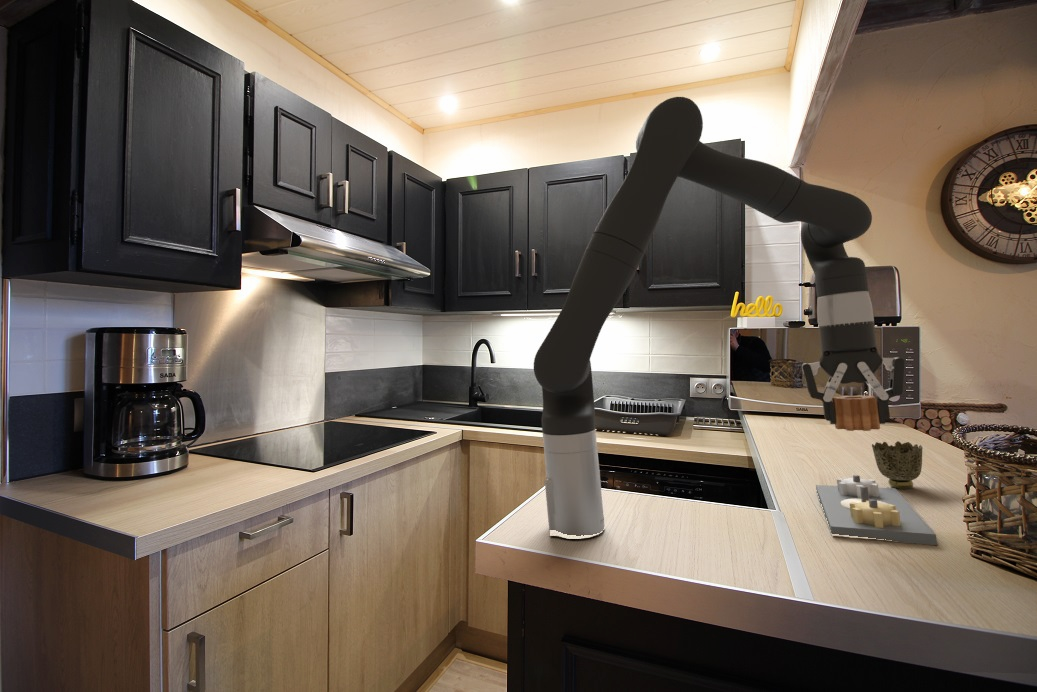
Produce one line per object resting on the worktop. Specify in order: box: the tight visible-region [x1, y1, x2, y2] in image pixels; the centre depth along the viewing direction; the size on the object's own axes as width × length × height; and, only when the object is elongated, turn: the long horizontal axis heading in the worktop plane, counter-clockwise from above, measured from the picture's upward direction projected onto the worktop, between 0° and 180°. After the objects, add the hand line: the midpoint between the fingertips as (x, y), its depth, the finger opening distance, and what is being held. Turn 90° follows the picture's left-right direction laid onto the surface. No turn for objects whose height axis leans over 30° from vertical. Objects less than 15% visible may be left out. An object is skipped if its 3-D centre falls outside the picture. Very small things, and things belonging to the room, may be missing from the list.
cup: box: [871, 440, 923, 490], centre depth 87 cm, size 8×7×8 cm
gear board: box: [815, 474, 938, 546], centre depth 75 cm, size 22×12×4 cm, turn 152°
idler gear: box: [832, 394, 881, 432], centre depth 75 cm, size 6×6×5 cm
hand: (856, 422), depth 75 cm, fingers closed on idler gear, 6 cm apart
